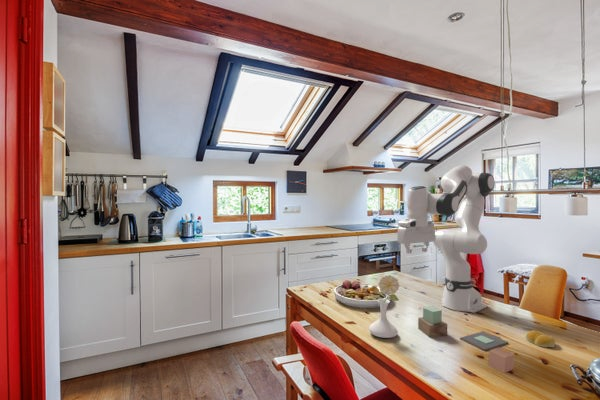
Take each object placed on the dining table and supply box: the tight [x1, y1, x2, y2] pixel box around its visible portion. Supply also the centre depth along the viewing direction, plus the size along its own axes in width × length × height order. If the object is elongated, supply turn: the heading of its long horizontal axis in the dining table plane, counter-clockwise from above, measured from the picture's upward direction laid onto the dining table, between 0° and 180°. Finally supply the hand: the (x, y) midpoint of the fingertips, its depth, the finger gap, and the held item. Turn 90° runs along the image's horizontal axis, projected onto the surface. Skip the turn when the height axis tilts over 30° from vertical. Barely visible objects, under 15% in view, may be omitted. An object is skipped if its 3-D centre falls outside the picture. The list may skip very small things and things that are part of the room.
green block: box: [422, 305, 443, 324], centre depth 126 cm, size 5×5×5 cm
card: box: [459, 331, 509, 352], centre depth 119 cm, size 14×10×1 cm
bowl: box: [333, 279, 391, 309], centre depth 165 cm, size 30×30×8 cm
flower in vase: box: [368, 274, 401, 339], centre depth 123 cm, size 13×11×25 cm
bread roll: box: [524, 329, 556, 348], centre depth 118 cm, size 8×9×4 cm
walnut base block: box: [417, 316, 448, 338], centre depth 126 cm, size 8×8×5 cm
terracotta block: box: [488, 346, 515, 374], centre depth 101 cm, size 5×5×5 cm
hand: (416, 252), depth 138 cm, fingers open, 8 cm apart
